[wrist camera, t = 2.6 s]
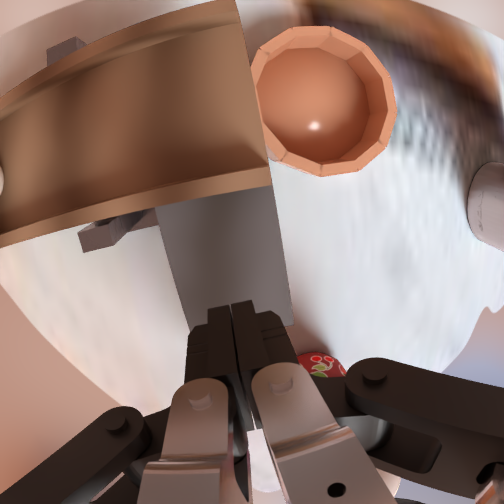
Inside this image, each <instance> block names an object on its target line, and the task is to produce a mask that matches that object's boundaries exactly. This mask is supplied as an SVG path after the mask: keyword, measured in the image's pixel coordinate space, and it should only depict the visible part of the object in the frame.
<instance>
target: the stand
mask: <svg viewBox="0 0 504 504" xmlns="http://www.w3.org/2000/svg"><path fill="white" fill-rule="evenodd" d="M85 46H87V44H85V43H84V42H83V41H81V40H80V39H79V38H77V37H74V38H71V39H69V40H67V41H65V42H62V43H60V44H58V45H56V46H54V47H52V48H50V49H48V50H47V66H49V65H51V64H53V63H55V62H56V61H58V60H60V59H62V58H64V57H65V56H67V55H69V54H71V53H73V52H75V51H77V50H79V49H81V48H83V47H85ZM155 225H159V223H158V219H157V215H156V211H155V207H153V208H149V209H144V210H140V211H136V212H131V213H127V214H123V215H119V216H114V217H110V218H106V219H102V220H98V221H95V222H93V223H92V224H90V225H89V226H87V227H85V228H84V229H82V230H81V231H79V232H78V236H79V240H80V243H81V246H82V249H83V252H84V253H85V252H89V251H93V250H97V249H101V248H105V247H109V246H113V245H115V244H116V243H117V242H118V241H119V240H120V239H121V238H122V237H123V236H124V235H125V234H126V233H127V232H130V231H134V230H138V229H143V228H147V227H151V226H155Z"/></svg>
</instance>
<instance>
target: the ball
mask: <svg viewBox="0 0 504 504" xmlns="http://www.w3.org/2000/svg"><path fill="white" fill-rule="evenodd" d="M3 185H4V176H3V171H2V168H1V167H0V195H1V192H2V190H3Z"/></svg>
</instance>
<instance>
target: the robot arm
mask: <svg viewBox="0 0 504 504" xmlns="http://www.w3.org/2000/svg"><path fill="white" fill-rule="evenodd" d="M467 209H468V219H469V224H470V227H471V230H472V232H473V234H474V235H475V237H476V238H477V239H479V240H480V241H482V242H484V243H486V244H489V245H491V246H493V247H495V248H497V249H499V250H501V251H503V252H504V163H498V162H489V163H487V164H484V165H483V166H482V167H481V168H480V169H479V170H478V172H477V173H476V175H475V177H474V179H473V181H472V184H471V187H470V191H469V196H468V208H467ZM231 310H232V314H231ZM231 310H230V306H229V304H228V305H223V306H219V307H214V308H209V309H208V310H207V324H202V325H197V326H195V327H194V328H193V330H192V331H191V332H190V334H189V335H188V344H187V346H188V347H187V356H186V367H185V380H184V385H183V386H181V387H180V388H179V389H178V390H177V391H176V392H175V394H174V396H173V398H172V403H171V406H170V407H168V408H166V409H164V410H162V411H159V412H156V413H154V414H151V415H148V416H145V417H143V416H142V414H141V413H140V412H139V411H138V410H137V409H135V408H133V407H128V406H121V407H116V408H113V409H110V410H108V411H106V412H105V413H103V414H102V415H101V416H100V417H98V418H97V419H96V420H95V421H93V422H92V423H91V424H90V425H88V426H87V427H86V428H85V429H84V430H82V431H81V432H80V433H79V434H77V435H76V436H75V437H74V438H72V439H71V440H70V441H69V442H67V443H66V444H65V445H64V446H62V447H61V448H60V449H59V450H57V451H56V452H55V453H54V454H52V455H51V456H50V457H49V458H47V459H46V460H45V461H43V462H42V463H41V464H40V465H38V466H37V467H36V468H34V469H33V470H32V471H30V472H29V473H28V474H27V475H25V476H24V477H23V478H21V479H20V480H19V481H18V482H16V483H15V484H13V485H12V486H11V487H9V488H8V489H7V490H5V491H4V492H3V493H2V494H0V504H253V499H252V484H251V468H250V454H249V450H248V438H247V432H246V431H252V430H254V424H253V419H252V414H253V418H254V421H255V425H256V428H257V429H261V428H262V429H263V432H264V436H265V440H266V443H267V447H268V450H269V453H270V456H271V460H272V463H273V466H274V469H275V472H276V475H277V477H278V480H279V483H280V486H281V489H282V492H283V495H284V497H285V501H286V504H425V503H421V502H418V501H414V500H409V499H400V498H394V497H393V495H392V494H391V492H390V490H389V489H388V487H387V486H386V484H385V482H384V481H383V479H382V477H381V476H380V474H379V473H378V471H377V469H380V470H382V471H385V472H387V473H390V474H393V475H395V476H398V477H401V478H404V479H406V480H409V481H412V482H415V483H418V484H421V485H424V486H428V487H431V488H435V489H437V490H441V491H444V492H448V493H451V494H455V495H459V496H463V497H467V498H471V499H475V504H504V388H502V387H497V386H493V385H488V384H483V383H479V382H474V381H470V380H466V379H462V378H458V377H453V376H449V375H445V374H441V373H437V372H433V371H430V370H426V369H422V368H418V367H414V366H411V365H407V364H403V363H400V362H396V361H393V360H389V359H385V358H367V359H363V360H361V361H358V362H356V363H355V364H353V365H352V366H351V367H350V368H349V369H348V371H347V373H346V376H343V377H319V376H315V375H312V374H310V373H308V372H307V370H306V369H305V368H303V367H302V366H301V365H300V364H299V361H298V359H297V356H296V354H295V352H294V349H293V347H292V344H291V342H290V339H289V337H288V335H287V332H286V330H285V327H284V325H283V323H282V320H281V318H280V316H278V315H277V314H276V313H274V312H273V311H271V310H269V311H265V312H260V313H256V312H255V309H254V305H253V302H252V300H247V301H242V302H237V303H233V304H231ZM251 411H252V413H251ZM376 468H377V469H376ZM121 472H123V473H124V474H125V475H124V476H123V477H121V478H120V479H119V480H118V481H117V482H116V483H115V484H114V485H113V486H112V487H111V488H109V489H108V490H107V491H106V492H105V493H104V494H103V495H102V496H101V497H99V498H98V499H97V500H95V501H93V502H90V501H91V499H92V498H93V497H94V496H96V495H97V494H98V493H99V492H100V491H101V490H102V489H104V488H105V487H106V486H107V485H108V484H109V483H110V482H111V481H113V480H114V479H115V478H116V477H117V476H118V475H119V474H120V473H121Z"/></svg>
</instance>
